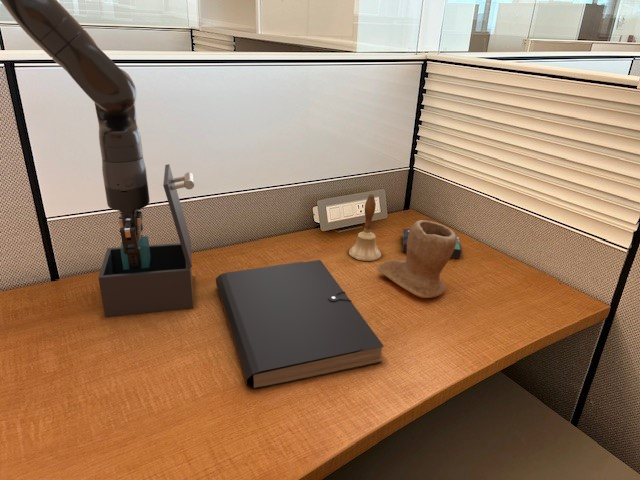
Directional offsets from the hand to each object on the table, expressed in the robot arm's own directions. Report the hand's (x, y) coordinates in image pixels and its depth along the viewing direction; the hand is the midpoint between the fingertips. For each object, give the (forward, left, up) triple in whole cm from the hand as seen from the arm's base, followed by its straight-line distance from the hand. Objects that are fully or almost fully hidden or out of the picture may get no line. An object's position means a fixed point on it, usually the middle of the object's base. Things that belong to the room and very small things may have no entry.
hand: (136, 261), depth 96 cm
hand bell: (+24, +49, -9) cm, 55 cm away
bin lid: (+5, +7, +9) cm, 13 cm away
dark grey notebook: (+29, +14, -9) cm, 33 cm away
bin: (+1, +2, -8) cm, 9 cm away
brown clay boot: (+41, +44, -9) cm, 61 cm away
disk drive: (+35, +64, -9) cm, 73 cm away
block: (0, 0, 0) cm, 0 cm away
